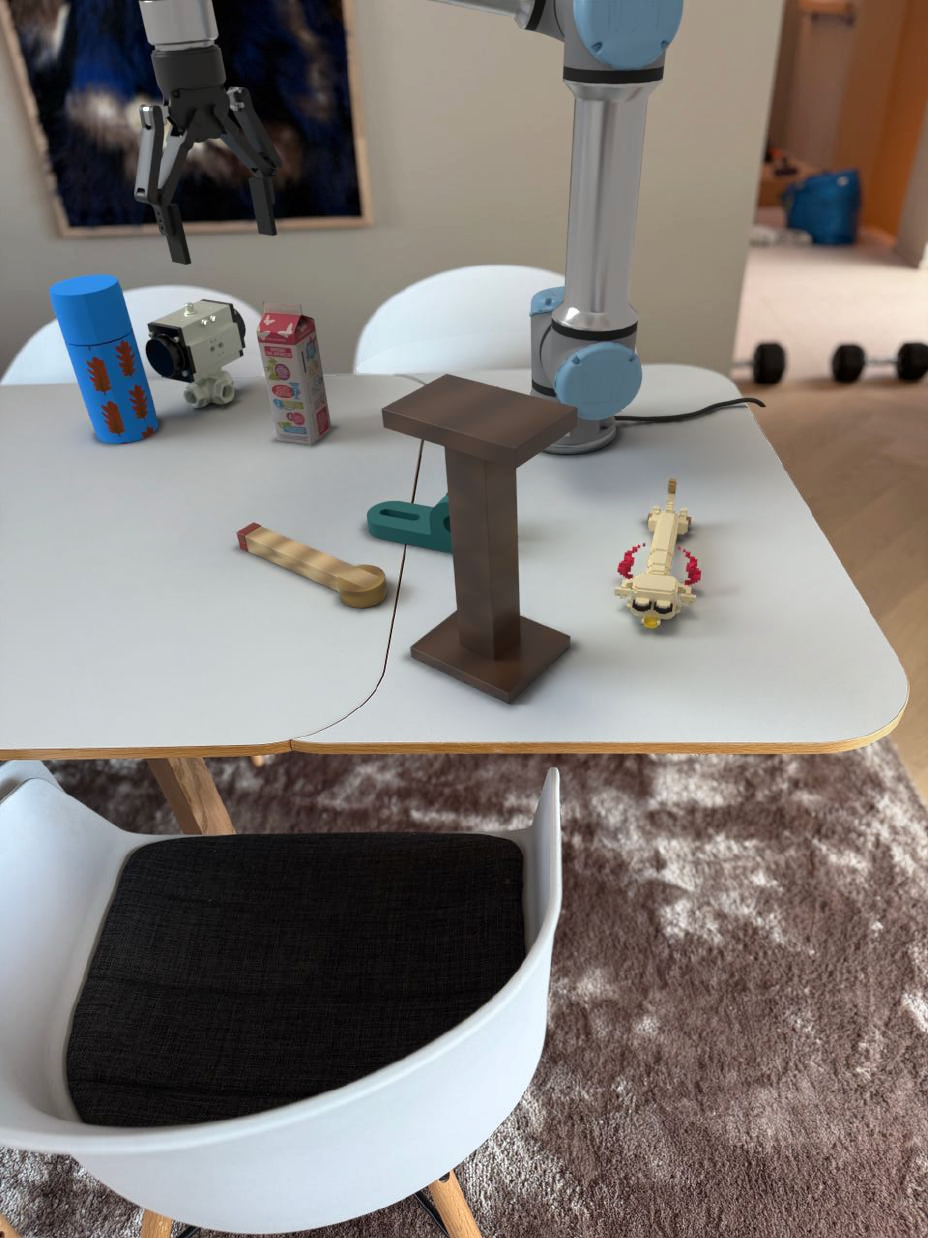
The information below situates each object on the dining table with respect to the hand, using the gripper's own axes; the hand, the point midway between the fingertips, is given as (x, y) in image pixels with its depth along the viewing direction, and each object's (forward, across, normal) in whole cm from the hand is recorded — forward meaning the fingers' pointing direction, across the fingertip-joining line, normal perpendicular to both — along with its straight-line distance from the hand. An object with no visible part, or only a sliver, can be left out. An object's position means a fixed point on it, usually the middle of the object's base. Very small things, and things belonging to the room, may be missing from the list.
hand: (226, 248), depth 112 cm
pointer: (+37, +9, +16) cm, 41 cm away
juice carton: (+37, -19, -15) cm, 44 cm away
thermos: (+37, -4, -43) cm, 57 cm away
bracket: (+37, -6, +23) cm, 44 cm away
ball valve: (+37, -20, -40) cm, 58 cm away
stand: (+37, +9, +46) cm, 60 cm away
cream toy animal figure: (+37, -15, +54) cm, 67 cm away
